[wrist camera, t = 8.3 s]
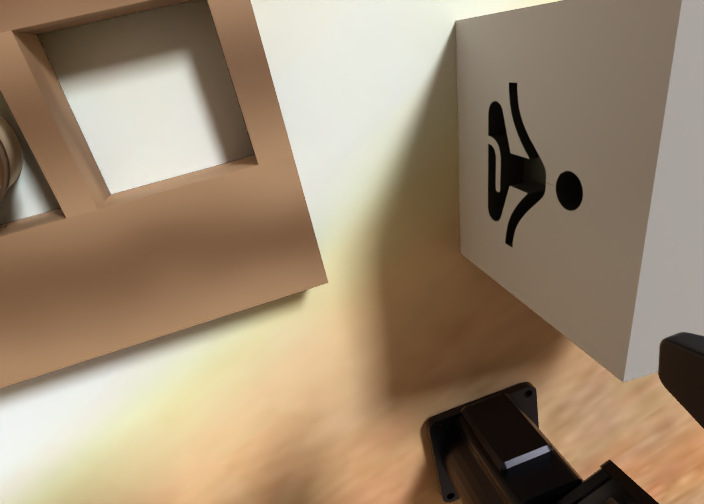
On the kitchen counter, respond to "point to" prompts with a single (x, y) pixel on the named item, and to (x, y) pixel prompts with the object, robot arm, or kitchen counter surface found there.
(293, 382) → the kitchen counter surface
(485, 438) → the robot arm
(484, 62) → the icon cube
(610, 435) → the kitchen counter surface
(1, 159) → the peg
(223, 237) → the board
